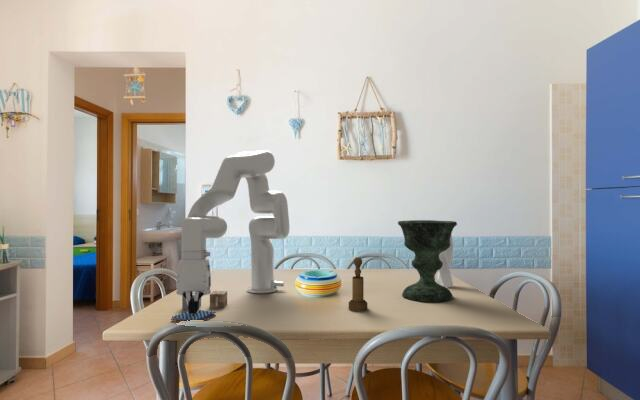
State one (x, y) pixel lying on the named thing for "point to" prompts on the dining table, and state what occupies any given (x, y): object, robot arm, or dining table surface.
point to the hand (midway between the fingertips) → (193, 312)
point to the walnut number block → (218, 299)
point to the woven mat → (193, 316)
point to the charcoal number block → (185, 302)
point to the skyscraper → (445, 267)
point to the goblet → (427, 257)
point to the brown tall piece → (357, 290)
